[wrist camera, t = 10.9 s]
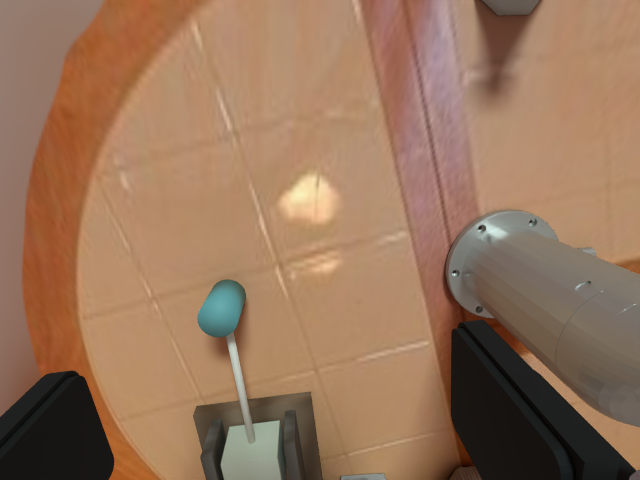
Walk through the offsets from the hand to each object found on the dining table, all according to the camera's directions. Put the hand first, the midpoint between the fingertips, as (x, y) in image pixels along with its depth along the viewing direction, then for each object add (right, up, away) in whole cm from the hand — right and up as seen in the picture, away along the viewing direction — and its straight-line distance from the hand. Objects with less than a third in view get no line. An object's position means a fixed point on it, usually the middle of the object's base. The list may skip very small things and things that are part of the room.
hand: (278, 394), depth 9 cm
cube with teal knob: (-7, -12, +31) cm, 34 cm away
